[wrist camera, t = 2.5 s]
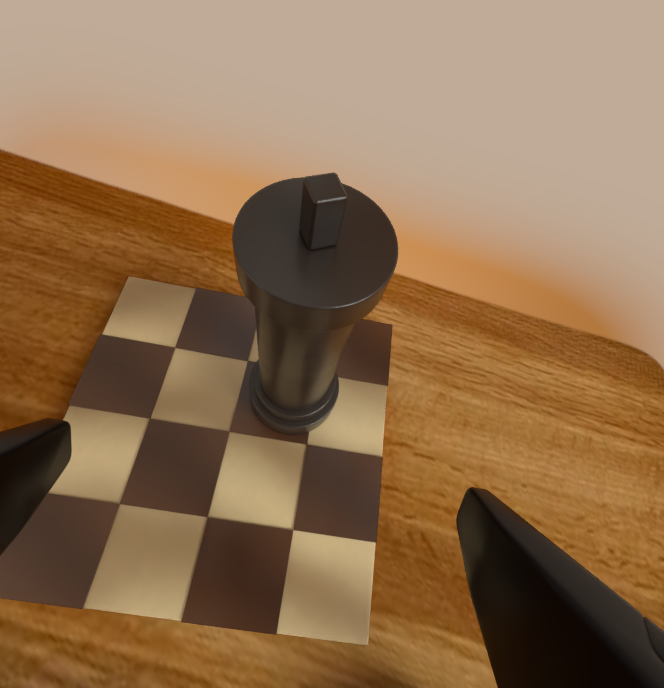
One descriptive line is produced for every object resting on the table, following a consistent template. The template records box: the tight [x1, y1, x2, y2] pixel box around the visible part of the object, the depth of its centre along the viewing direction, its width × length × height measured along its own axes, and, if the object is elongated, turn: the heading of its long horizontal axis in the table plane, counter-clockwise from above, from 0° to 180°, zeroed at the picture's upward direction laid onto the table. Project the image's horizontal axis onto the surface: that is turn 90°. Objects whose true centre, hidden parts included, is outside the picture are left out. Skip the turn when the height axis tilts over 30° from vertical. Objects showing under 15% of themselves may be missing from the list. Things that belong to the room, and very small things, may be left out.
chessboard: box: [0, 276, 392, 645], centre depth 20 cm, size 16×16×1 cm
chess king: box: [232, 173, 398, 435], centre depth 15 cm, size 5×5×14 cm
